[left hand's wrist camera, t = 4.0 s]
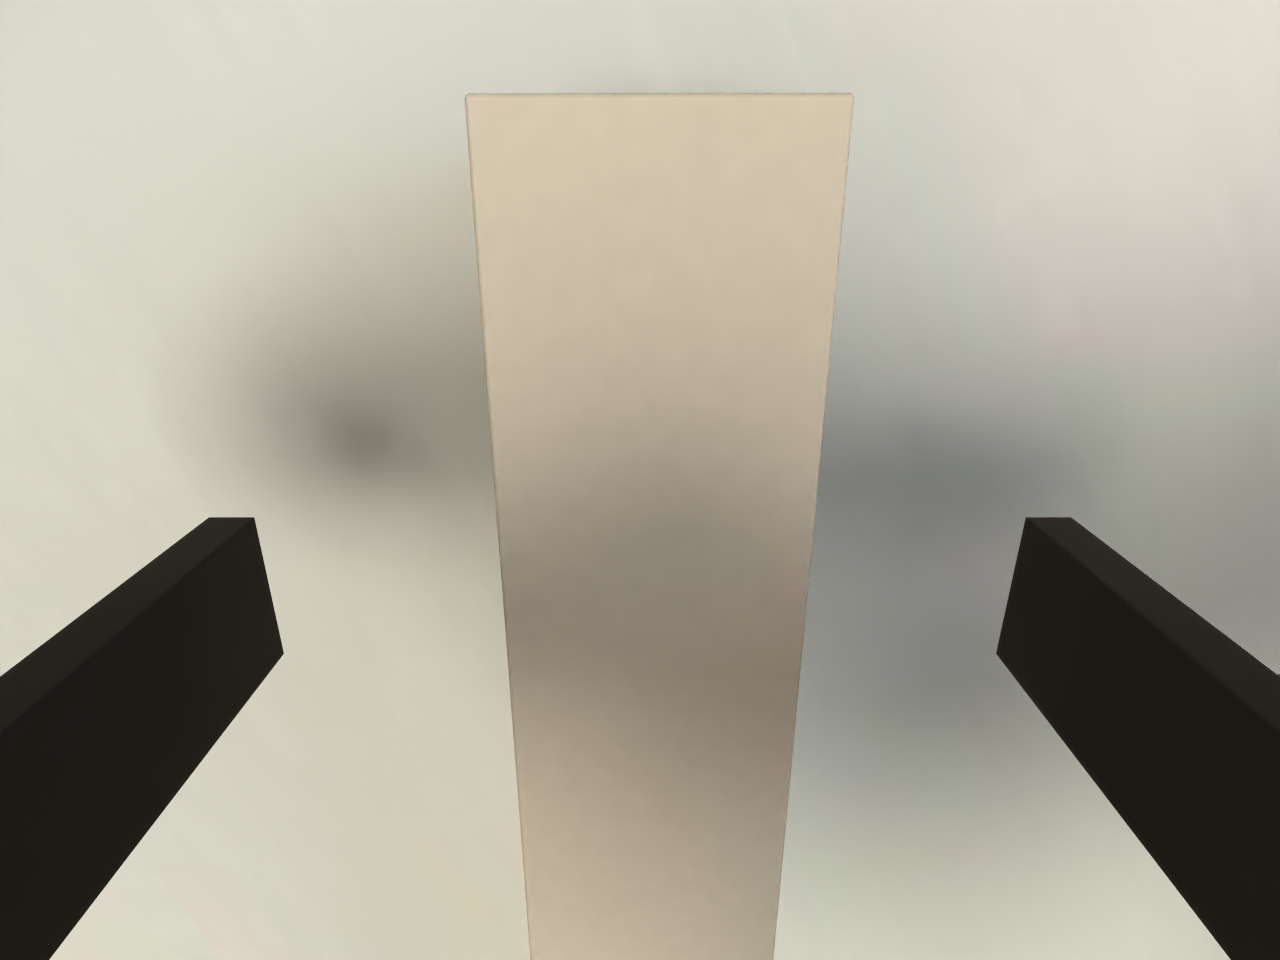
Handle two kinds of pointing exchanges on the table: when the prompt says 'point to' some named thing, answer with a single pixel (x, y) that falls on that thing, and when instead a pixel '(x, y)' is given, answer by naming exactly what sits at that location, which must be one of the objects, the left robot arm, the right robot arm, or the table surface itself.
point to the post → (655, 492)
